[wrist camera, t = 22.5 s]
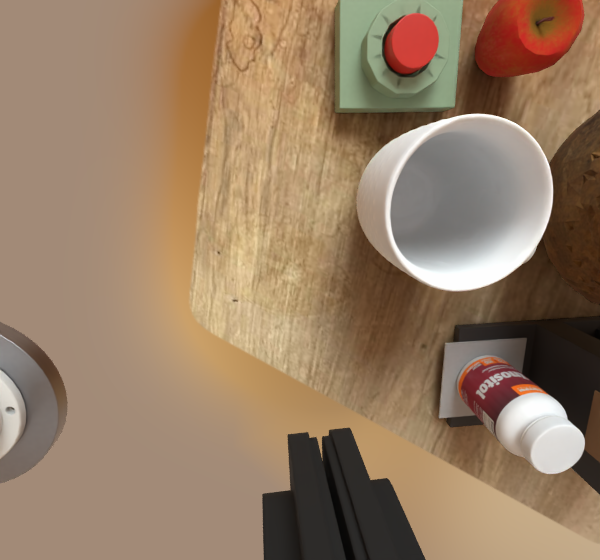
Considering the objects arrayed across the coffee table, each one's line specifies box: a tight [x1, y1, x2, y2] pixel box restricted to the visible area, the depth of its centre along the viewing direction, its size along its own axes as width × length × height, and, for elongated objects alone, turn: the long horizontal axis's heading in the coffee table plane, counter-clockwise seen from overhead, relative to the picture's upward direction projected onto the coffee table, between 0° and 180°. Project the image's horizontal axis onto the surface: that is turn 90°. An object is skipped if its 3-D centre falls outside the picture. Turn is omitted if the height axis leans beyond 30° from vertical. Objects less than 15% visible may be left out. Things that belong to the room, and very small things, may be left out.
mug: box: [356, 114, 553, 292], centre depth 30 cm, size 15×11×13 cm
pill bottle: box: [457, 355, 585, 474], centre depth 35 cm, size 6×6×11 cm
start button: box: [384, 13, 439, 74], centre depth 28 cm, size 4×4×2 cm
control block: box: [335, 0, 463, 113], centre depth 30 cm, size 10×8×4 cm
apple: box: [475, 0, 584, 77], centre depth 29 cm, size 6×6×8 cm
